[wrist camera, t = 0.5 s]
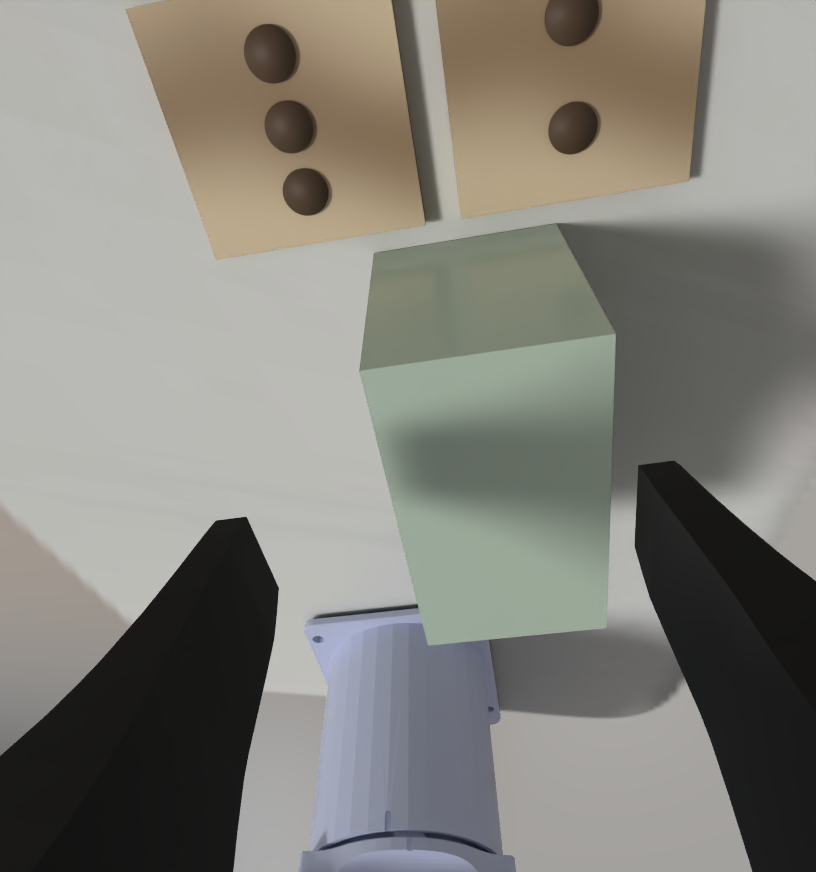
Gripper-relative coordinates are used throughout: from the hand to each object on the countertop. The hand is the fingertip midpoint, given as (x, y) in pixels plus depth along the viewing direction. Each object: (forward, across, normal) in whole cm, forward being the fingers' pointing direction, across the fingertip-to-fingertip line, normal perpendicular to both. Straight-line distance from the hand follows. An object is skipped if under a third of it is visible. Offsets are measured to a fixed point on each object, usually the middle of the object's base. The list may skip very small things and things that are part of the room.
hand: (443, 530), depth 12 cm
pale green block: (+9, -1, +3) cm, 10 cm away
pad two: (+9, -4, -6) cm, 12 cm away
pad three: (+9, +3, -6) cm, 11 cm away
